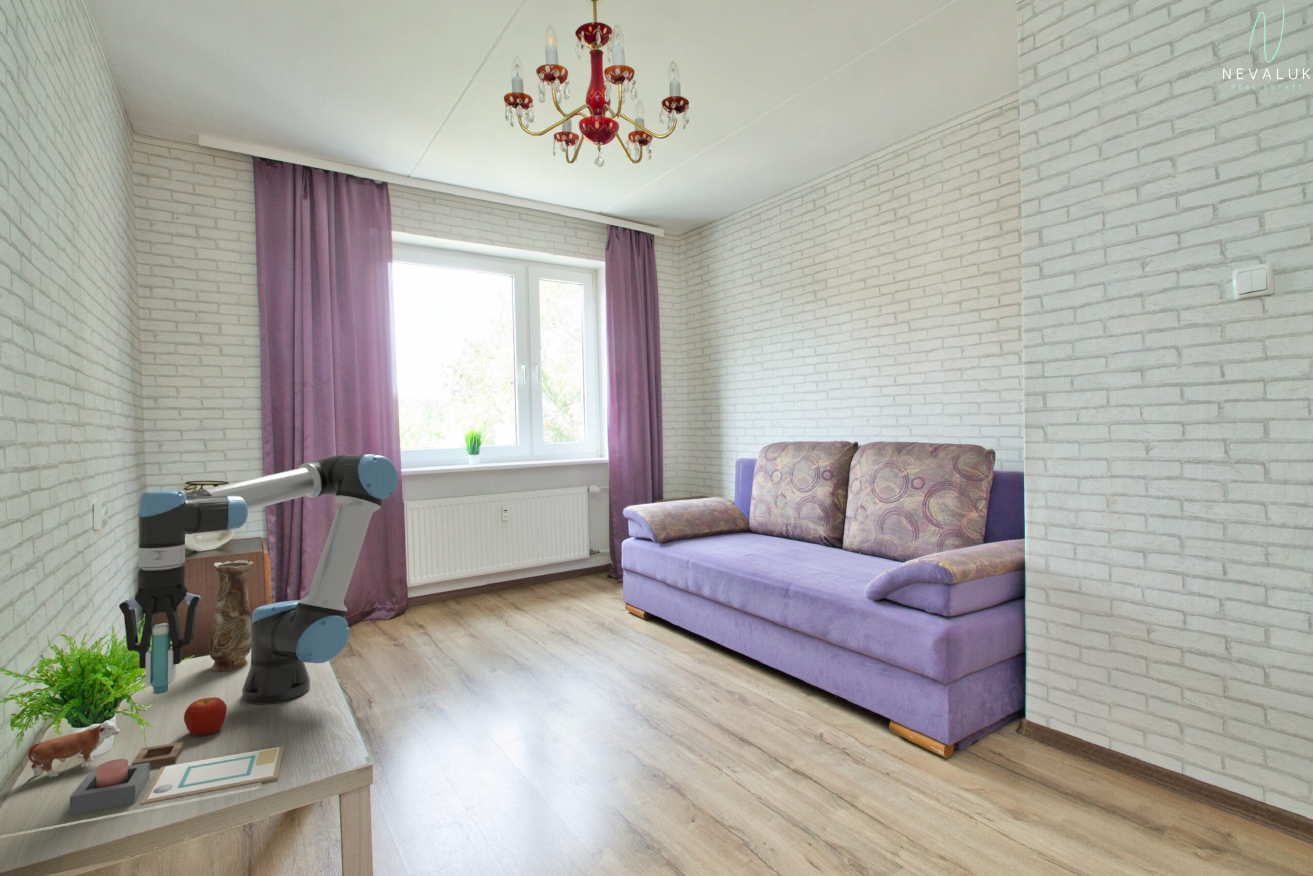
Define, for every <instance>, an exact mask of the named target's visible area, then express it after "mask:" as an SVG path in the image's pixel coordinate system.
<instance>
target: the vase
mask: <svg viewBox="0 0 1313 876" xmlns="http://www.w3.org/2000/svg"><path fill="white" fill-rule="evenodd" d="M253 565H254V562H253V561H252V560H251V561H248V560H247V559H238V560H237V559H236V560H235V561H232V562H231V561H229V560H227V561H225V562H214V563H213V566H214V569H215V570H216V572H217V573H218V577H219V579H218V581H219V582H218V591H217V597H216V602H215V607H214V613H213V617H212V618H213V619H212V622H211V623H212V624H211V628H210V633H209V641H208V651H209V656H210V658H211V660H212V661H214V662H213V665H212V666H211V670H212V671H215V672H228V671H234V670H238V669H241V668H245V667H246V666H247V665H248V664H249V663H248V661H247V656H248V655H249V654H250V653H251V620H252V616H251V611H250V602H249V601H250V600H249V590H248V573H249V571H250V569H251V568H252V566H253Z"/></svg>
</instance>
